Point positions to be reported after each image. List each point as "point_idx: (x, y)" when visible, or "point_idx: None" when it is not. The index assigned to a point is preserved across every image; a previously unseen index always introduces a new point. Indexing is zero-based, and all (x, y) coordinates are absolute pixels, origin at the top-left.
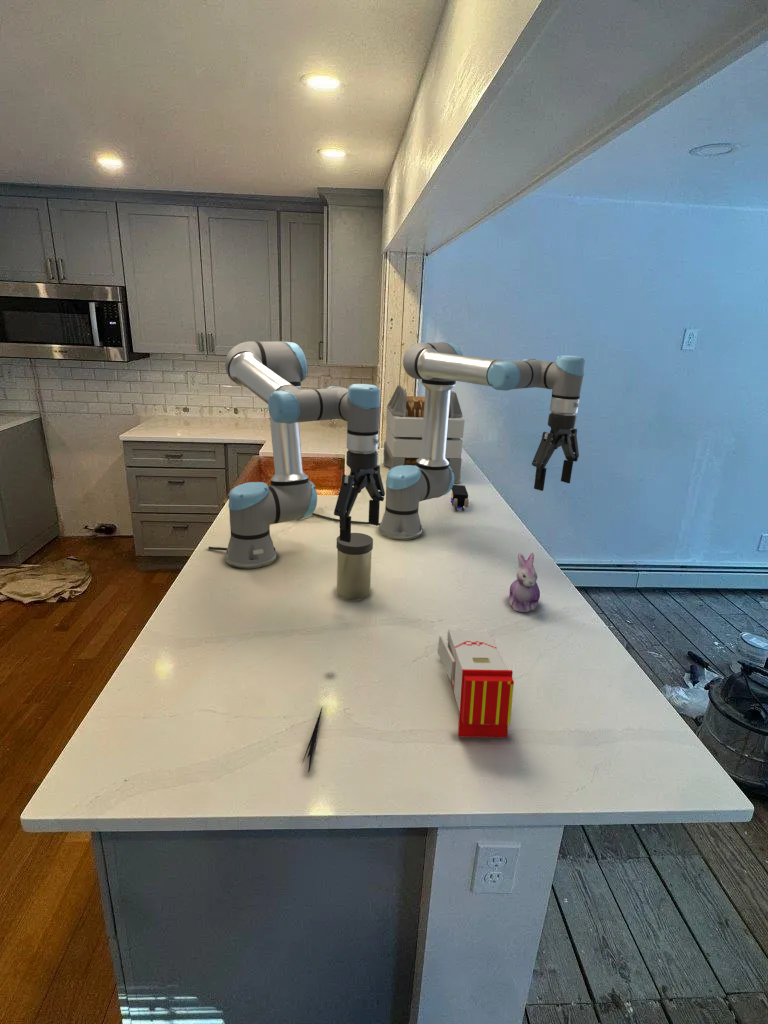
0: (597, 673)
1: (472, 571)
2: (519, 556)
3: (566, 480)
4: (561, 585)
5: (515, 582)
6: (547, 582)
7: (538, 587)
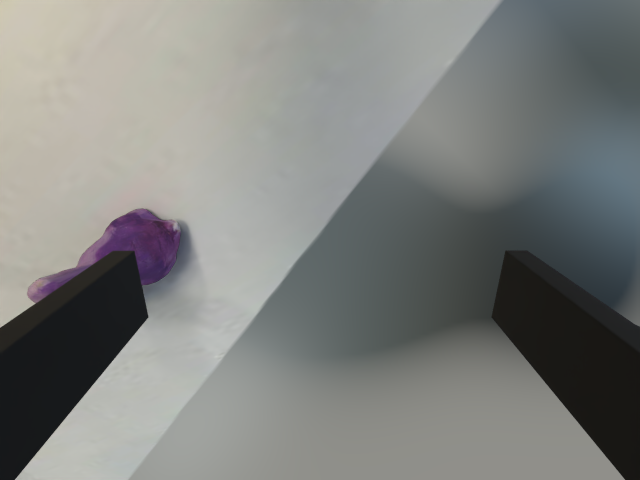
0: (100, 422)
1: (153, 35)
2: (27, 292)
3: (504, 308)
4: (303, 241)
5: (103, 242)
6: (288, 212)
7: (157, 277)
